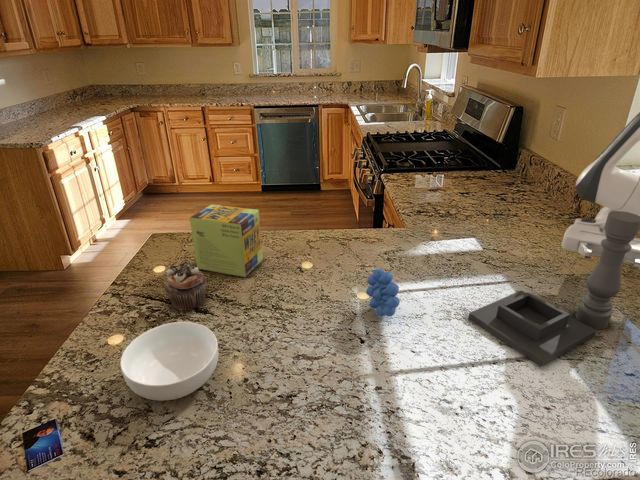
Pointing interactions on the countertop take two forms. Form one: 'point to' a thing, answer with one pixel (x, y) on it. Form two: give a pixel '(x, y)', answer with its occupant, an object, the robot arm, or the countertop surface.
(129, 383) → the cereal bowl
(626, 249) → the candle holder
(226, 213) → the protein box
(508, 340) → the display stand
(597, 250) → the robot arm
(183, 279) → the cupcake
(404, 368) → the countertop surface
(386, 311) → the grapes
